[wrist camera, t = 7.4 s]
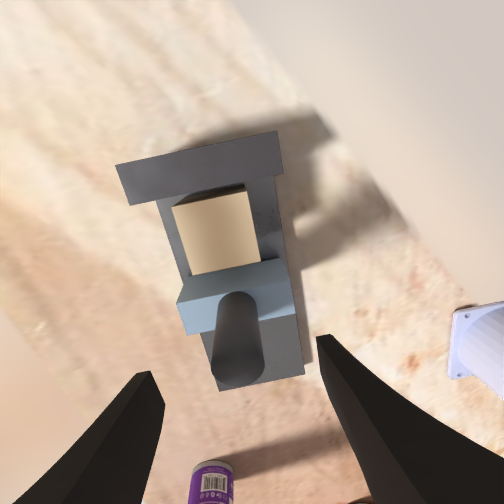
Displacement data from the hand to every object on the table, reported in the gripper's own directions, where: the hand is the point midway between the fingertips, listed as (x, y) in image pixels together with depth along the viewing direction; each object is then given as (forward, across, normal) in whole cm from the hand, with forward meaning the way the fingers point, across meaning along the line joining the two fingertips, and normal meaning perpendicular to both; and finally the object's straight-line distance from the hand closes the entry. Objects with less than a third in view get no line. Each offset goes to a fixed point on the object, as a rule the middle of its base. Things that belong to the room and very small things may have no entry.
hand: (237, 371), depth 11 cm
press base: (+10, 0, +1) cm, 10 cm away
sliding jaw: (+9, 0, 0) cm, 9 cm away
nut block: (+9, 0, -5) cm, 10 cm away
